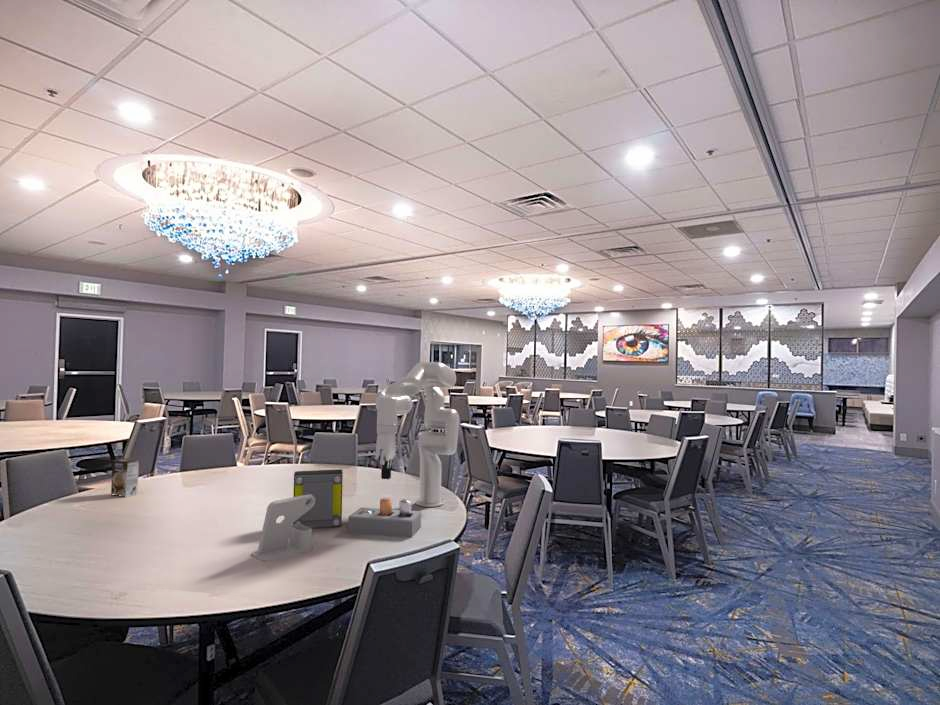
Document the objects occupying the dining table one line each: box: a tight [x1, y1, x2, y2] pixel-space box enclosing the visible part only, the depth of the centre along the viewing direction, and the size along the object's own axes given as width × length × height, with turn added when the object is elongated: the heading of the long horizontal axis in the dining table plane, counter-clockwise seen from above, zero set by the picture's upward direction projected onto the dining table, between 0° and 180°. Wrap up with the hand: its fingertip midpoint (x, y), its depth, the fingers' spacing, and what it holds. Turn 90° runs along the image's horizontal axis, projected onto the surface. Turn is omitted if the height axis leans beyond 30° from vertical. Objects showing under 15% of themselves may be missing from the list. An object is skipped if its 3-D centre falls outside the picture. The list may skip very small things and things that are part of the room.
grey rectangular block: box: [348, 507, 422, 538], centre depth 194 cm, size 12×24×6 cm, turn 80°
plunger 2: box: [398, 498, 412, 517], centre depth 193 cm, size 4×4×5 cm
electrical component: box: [292, 468, 343, 529], centre depth 199 cm, size 18×10×20 cm, turn 105°
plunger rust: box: [379, 497, 393, 515], centre depth 194 cm, size 4×4×5 cm
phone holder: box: [251, 494, 315, 563], centre depth 171 cm, size 17×10×18 cm, turn 139°
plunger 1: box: [360, 509, 372, 515], centre depth 196 cm, size 4×4×5 cm
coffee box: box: [110, 458, 140, 497], centre depth 240 cm, size 9×6×16 cm
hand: (386, 478), depth 195 cm, fingers closed
